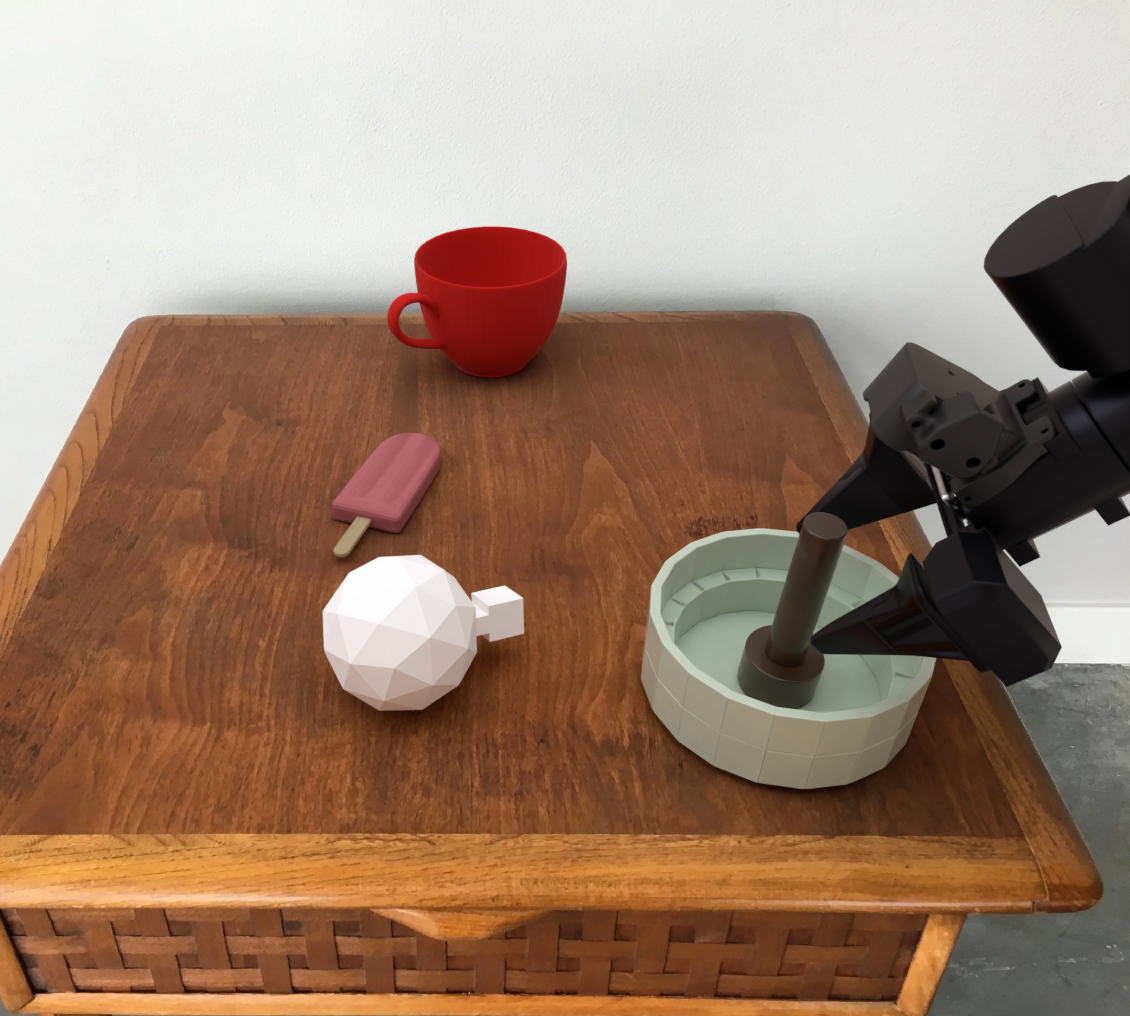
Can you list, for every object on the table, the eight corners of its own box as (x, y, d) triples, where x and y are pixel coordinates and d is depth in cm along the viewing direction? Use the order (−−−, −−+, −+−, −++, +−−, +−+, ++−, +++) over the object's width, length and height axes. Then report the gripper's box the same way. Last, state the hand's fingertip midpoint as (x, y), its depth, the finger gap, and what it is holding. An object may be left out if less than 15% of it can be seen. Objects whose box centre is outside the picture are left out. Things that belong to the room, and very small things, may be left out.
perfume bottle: (356, 759, 54) (552, 704, 58) (344, 599, 51) (550, 556, 56) (306, 690, 61) (483, 647, 66) (293, 548, 58) (479, 513, 63)
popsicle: (302, 538, 69) (389, 425, 80) (304, 555, 70) (390, 442, 81) (373, 555, 68) (452, 438, 79) (375, 572, 69) (453, 454, 80)
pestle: (789, 647, 61) (839, 492, 54) (829, 702, 58) (889, 545, 50) (723, 661, 60) (765, 505, 53) (760, 718, 57) (810, 561, 49)
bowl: (888, 615, 64) (912, 542, 61) (930, 815, 52) (964, 739, 49) (645, 588, 67) (654, 516, 63) (634, 773, 55) (644, 698, 51)
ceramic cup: (354, 367, 91) (344, 262, 85) (501, 314, 99) (502, 214, 93) (438, 429, 83) (434, 317, 77) (592, 365, 90) (599, 259, 84)
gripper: (967, 227, 51) (711, 397, 59) (1075, 425, 36) (716, 613, 45) (1080, 377, 54) (823, 517, 63) (1219, 612, 40) (861, 754, 48)
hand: (806, 586), depth 55 cm, fingers open, 9 cm apart
